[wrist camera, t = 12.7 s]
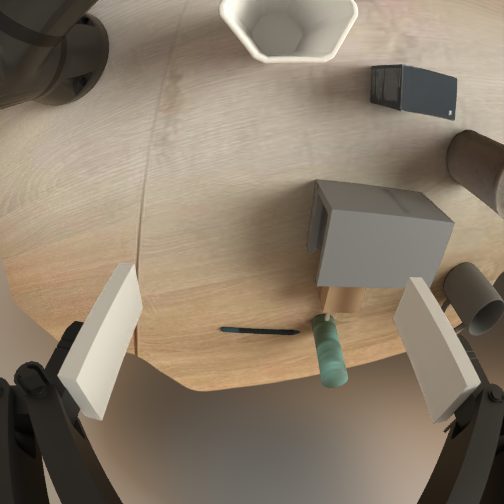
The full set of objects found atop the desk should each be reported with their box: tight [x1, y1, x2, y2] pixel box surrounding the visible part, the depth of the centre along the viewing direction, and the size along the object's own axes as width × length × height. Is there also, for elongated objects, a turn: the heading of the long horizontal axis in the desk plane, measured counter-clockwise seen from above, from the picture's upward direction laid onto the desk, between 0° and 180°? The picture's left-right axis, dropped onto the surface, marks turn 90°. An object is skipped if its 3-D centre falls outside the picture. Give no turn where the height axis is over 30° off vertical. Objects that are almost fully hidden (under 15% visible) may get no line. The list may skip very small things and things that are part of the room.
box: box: [370, 64, 457, 121], centre depth 31 cm, size 8×6×11 cm
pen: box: [221, 327, 300, 335], centre depth 60 cm, size 1×16×1 cm, turn 87°
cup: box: [219, 0, 358, 63], centre depth 25 cm, size 11×10×17 cm
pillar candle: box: [447, 130, 504, 219], centre depth 34 cm, size 10×10×15 cm
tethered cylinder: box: [312, 286, 366, 388], centre depth 49 cm, size 6×17×14 cm, turn 177°
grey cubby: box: [306, 179, 455, 289], centre depth 42 cm, size 18×11×11 cm, turn 87°
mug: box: [441, 262, 504, 335], centre depth 49 cm, size 14×9×12 cm
